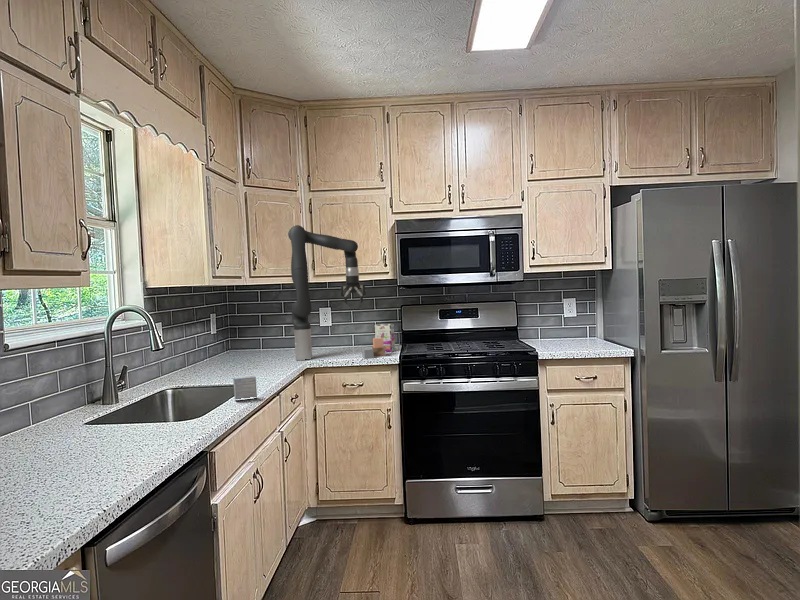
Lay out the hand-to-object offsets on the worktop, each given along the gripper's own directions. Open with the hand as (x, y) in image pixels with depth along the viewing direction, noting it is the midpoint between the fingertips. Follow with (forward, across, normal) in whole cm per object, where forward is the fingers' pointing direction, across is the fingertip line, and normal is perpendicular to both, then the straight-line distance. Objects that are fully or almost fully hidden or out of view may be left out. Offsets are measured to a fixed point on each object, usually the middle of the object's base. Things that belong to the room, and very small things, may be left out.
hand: (353, 303), depth 318 cm
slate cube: (+30, -5, +17) cm, 35 cm away
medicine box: (+30, +51, +104) cm, 120 cm away
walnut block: (+30, -12, +10) cm, 34 cm away
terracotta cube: (+25, -12, +10) cm, 30 cm away
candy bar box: (+30, -18, -6) cm, 36 cm away
